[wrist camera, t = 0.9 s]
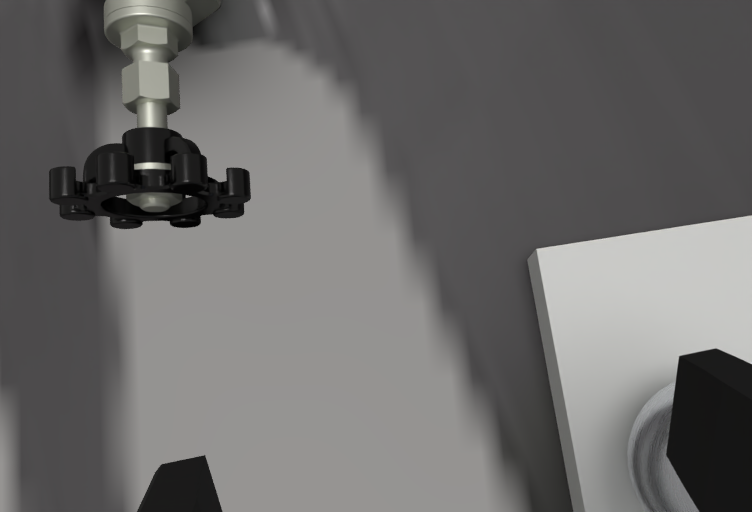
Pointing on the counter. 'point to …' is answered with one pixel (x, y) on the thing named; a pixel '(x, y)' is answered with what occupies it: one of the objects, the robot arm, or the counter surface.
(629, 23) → the counter surface
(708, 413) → the robot arm
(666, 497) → the ball
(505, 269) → the counter surface
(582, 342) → the deck
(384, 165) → the counter surface
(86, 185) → the valve
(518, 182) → the counter surface
